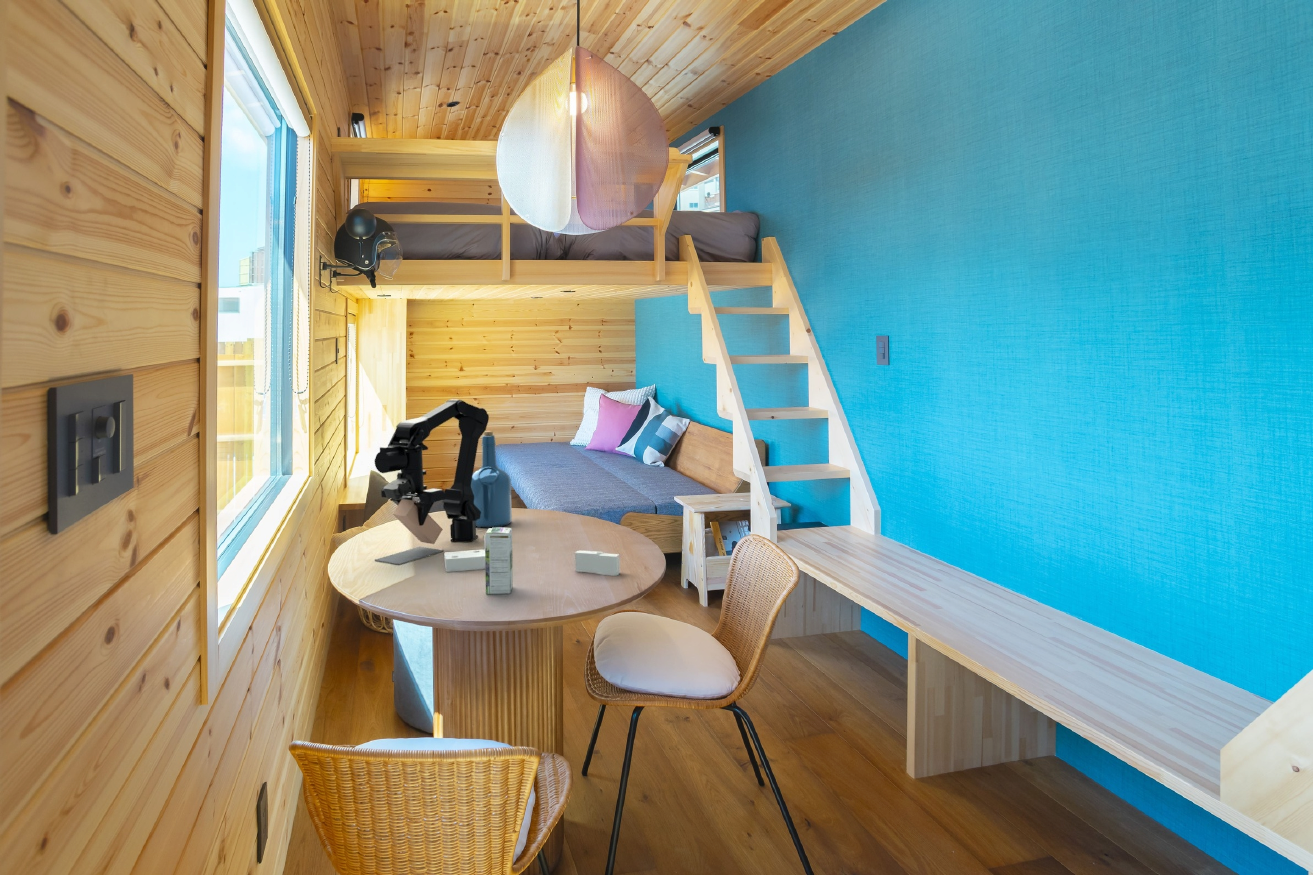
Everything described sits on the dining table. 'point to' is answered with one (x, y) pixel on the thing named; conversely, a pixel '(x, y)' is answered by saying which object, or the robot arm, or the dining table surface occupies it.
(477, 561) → the bracket
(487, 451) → the blue bottle
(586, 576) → the dining table surface
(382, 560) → the mat
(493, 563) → the syrup box
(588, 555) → the white stepped block
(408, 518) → the terracotta block
